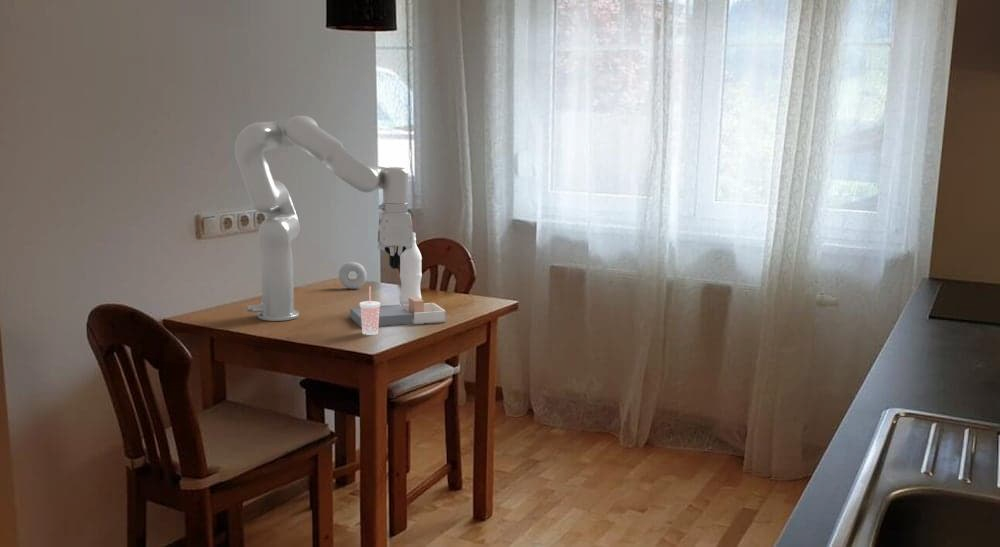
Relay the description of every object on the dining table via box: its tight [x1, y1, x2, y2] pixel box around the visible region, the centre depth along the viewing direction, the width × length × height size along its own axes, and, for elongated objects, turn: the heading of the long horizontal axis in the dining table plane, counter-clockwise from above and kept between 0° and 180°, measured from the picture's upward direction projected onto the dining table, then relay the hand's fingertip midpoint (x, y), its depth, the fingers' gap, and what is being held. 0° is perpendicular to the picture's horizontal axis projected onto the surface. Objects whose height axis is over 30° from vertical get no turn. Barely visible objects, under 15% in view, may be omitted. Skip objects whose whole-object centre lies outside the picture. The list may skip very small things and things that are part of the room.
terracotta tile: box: [409, 297, 425, 320], centre depth 279 cm, size 6×6×3 cm
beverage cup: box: [359, 285, 382, 336], centre depth 261 cm, size 6×6×14 cm
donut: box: [338, 261, 368, 290], centre depth 322 cm, size 10×3×10 cm, turn 95°
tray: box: [403, 302, 447, 325], centre depth 280 cm, size 10×12×4 cm
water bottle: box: [399, 231, 423, 307], centre depth 293 cm, size 7×7×25 cm
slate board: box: [349, 304, 413, 329], centre depth 277 cm, size 16×14×3 cm
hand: (394, 267), depth 274 cm, fingers closed
